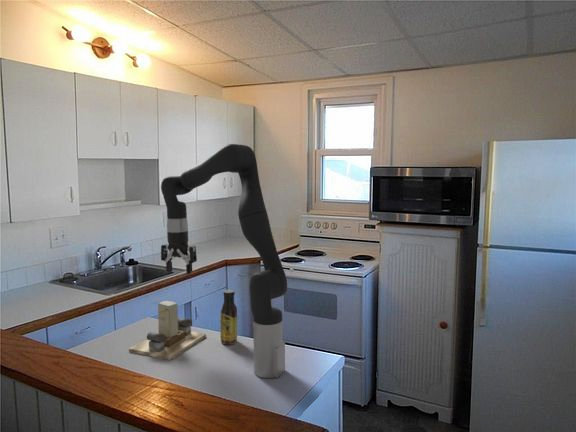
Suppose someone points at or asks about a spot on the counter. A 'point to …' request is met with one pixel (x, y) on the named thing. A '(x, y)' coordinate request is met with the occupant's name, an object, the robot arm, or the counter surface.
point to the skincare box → (168, 318)
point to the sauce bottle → (228, 319)
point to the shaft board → (168, 342)
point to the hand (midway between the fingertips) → (179, 272)
